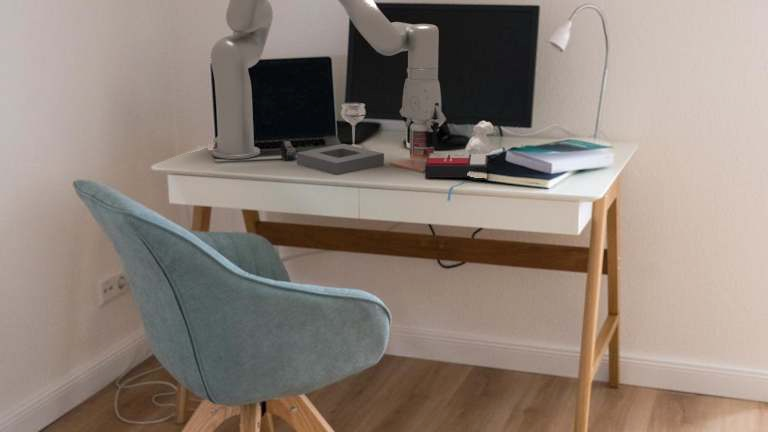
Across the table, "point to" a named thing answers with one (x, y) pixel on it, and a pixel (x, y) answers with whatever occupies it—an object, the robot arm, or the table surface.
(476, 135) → the bust
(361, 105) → the wineglass
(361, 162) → the block
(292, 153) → the wristwatch
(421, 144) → the pill bottle
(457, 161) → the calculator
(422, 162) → the tile
